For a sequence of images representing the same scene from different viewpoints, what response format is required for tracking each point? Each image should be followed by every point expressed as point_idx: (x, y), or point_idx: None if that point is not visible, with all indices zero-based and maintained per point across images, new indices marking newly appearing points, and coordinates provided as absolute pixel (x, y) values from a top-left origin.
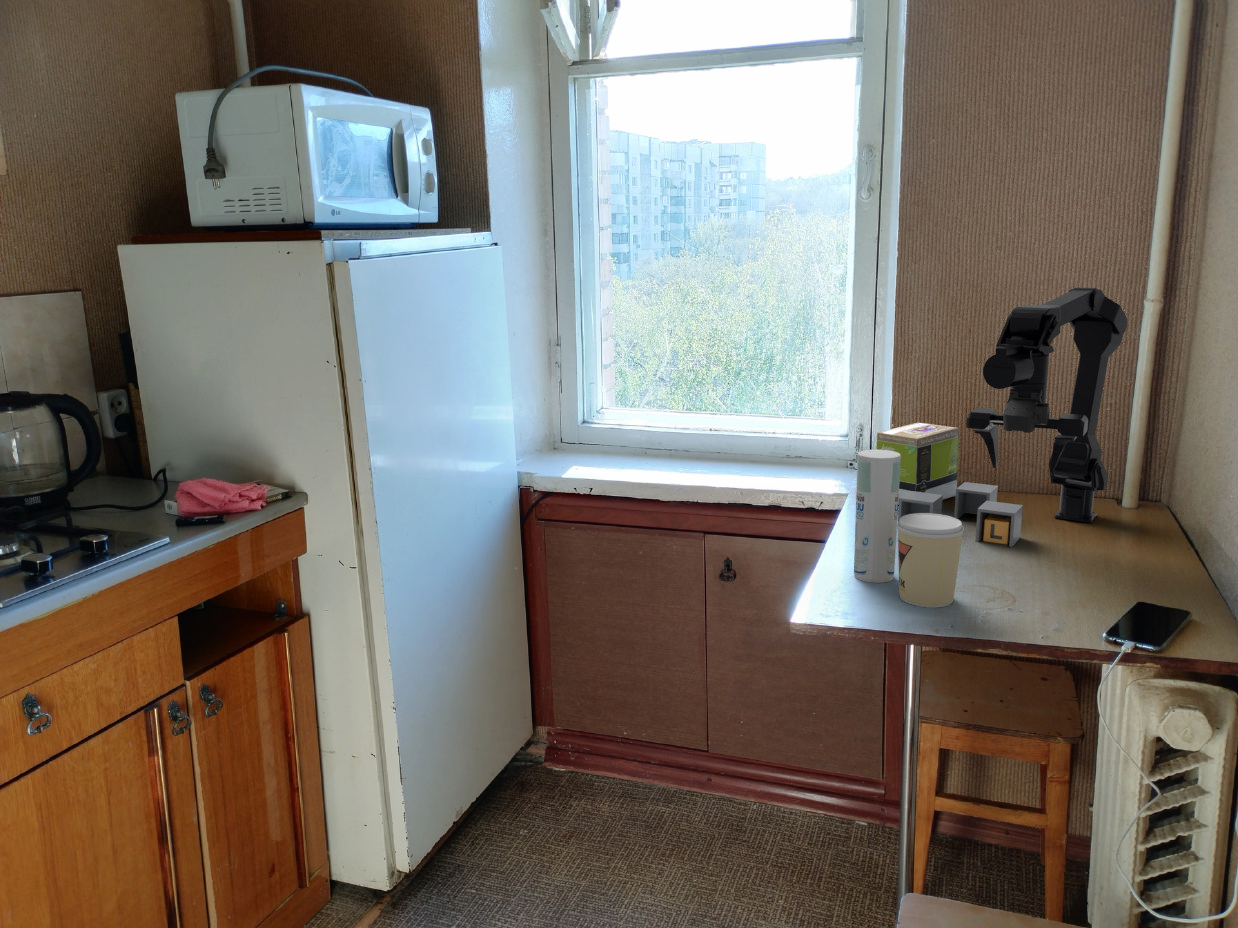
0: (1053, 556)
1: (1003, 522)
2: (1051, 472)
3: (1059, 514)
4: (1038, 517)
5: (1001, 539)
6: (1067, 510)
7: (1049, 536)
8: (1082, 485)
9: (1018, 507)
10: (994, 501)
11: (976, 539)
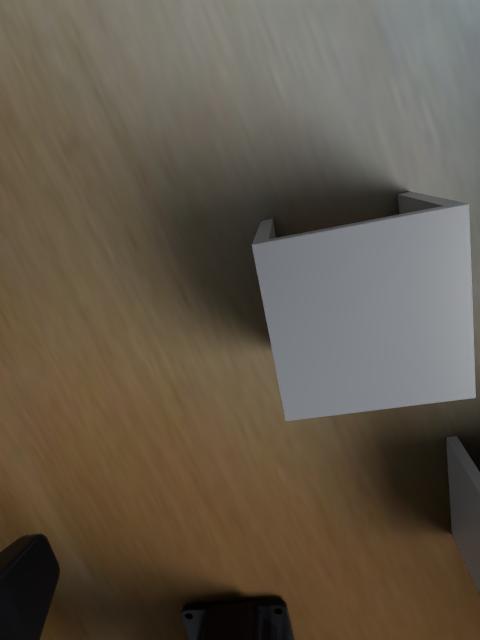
0: (98, 209)
1: None
2: (24, 540)
3: (276, 622)
4: (328, 586)
5: None
6: (242, 626)
7: (215, 423)
8: None
9: (286, 371)
10: (477, 559)
11: (408, 193)
